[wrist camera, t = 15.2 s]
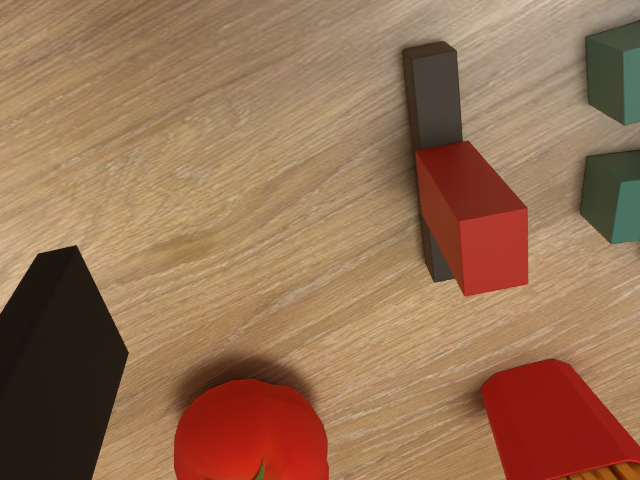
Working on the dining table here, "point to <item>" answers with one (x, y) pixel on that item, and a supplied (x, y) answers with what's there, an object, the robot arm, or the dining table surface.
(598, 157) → the cube
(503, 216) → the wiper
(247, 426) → the tomato
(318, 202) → the dining table surface
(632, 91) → the cube
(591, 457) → the french fries
